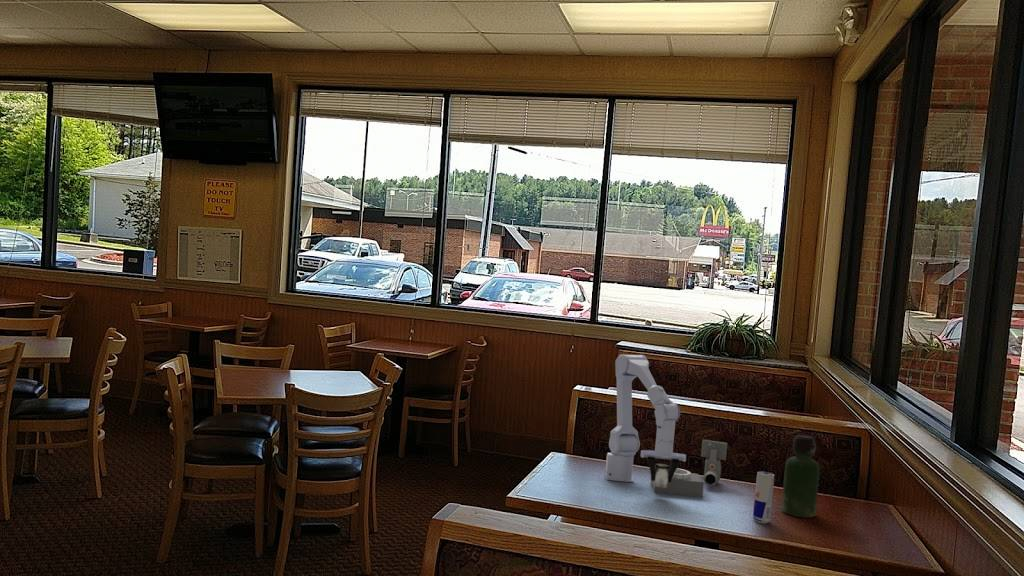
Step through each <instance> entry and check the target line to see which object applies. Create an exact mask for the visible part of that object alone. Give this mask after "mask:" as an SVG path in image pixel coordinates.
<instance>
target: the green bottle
mask: <svg viewBox="0 0 1024 576" xmlns="http://www.w3.org/2000/svg"><path fill="white" fill-rule="evenodd" d="M816 448H817V442H816V439H815V437H814V436H810V435H806V434H797V435H796V436H795V437H794V439H793V443H792V450H793V452H792V453H793V454H794V456H791V457H789V458H788V459H786V461H785V465H784V475H783V476H784V477H783V487H782V497H781V508H780V509H781V511H782V512H783V513H785V514H787V515H789V516H791V517H792V516H793V517H796V518H803V519H804V518H805V519H806V518H807V519H808V518H809V519H810V518H813V517H815V516H816V515H817V514H816V513H817V503H818V502H817V501H818V494H819V493H818V491H819V480H820V471H821V470H820V469H821V468H820V465H819V463H818V462H817V461H816V460H815V459H813V458H812V457H814V456H815V453H816Z"/></svg>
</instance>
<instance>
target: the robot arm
mask: <svg viewBox="0 0 1024 576" xmlns="http://www.w3.org/2000/svg"><path fill="white" fill-rule="evenodd" d="M614 363H615V364H614V365H615V377H616V426H615V427H614V428H613V429H612V430H611V431H610V432H609V433H610V435H609V436H610V437H609V441H608V448H609V450H610V452H607V453H606V462H605V469H604V476H605V479H606V481H615V482H623V483H624V482H625V483H634V482H635V481H634V478H633V468H634V467H633V466H634V457H635V456H636V454H637V452H638V451H639V450H640V446H641V442H640V438H639V431H638V430H637V429H636V428H635V427H634V426H633V392H632V391H633V388H632V387H633V384H632V383H633V381H634V379H637V377H638V379H639V380H640V382H641V383H642V384H643V386H644V387H645V389H646V390H647V392H646V395H647V398H648V399H649V401H650V403H651V404H652V406H653V408H654V409H655V410H654V417H655V425H656V433H655V436H656V437H655V446H654V450H640V458H643V459H644V458H646V461H647V464H648V467H649V472H650V481H651V480H652V481H654V470H655V466H656V464H657V463H656V459H661V460H669V468H670V473H669V482H671V480H672V477H673V475H674V472H675V471H676V469H677V468H679V465H680V461H682V462H686V461H687V454H684V453H676V452H673V451H674V439H675V430H676V421H678V420H679V419H680V416H681V409H680V407H679V404H678V403H677V402H674V401H673V400H671V399H670V398H669V396H668V394H667V393H666V391H665V389H664V388H663V386H661V385H657V383H656V381H655V378H654V377H653V375H652V373H651V371H650V369H649V366H650V362H649V360H648V358H647V356H645V354H623V353H621V354H619V355H618V357H617V358H616V360H615V362H614Z"/></svg>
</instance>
